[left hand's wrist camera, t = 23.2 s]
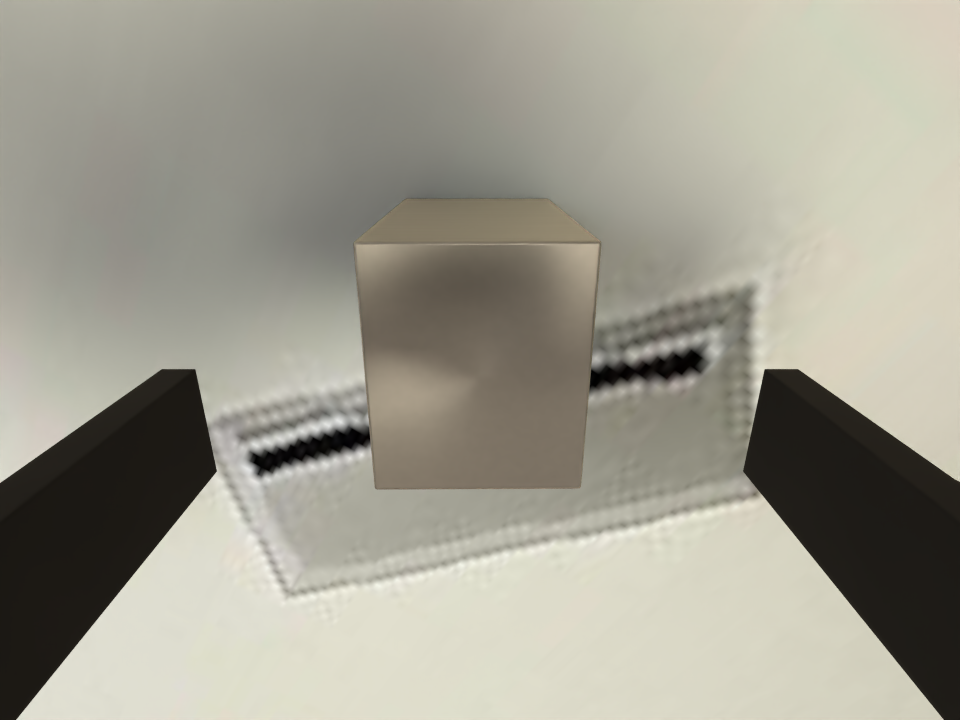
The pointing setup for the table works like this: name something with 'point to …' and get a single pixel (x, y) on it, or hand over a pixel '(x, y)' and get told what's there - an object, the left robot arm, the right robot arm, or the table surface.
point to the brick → (477, 343)
